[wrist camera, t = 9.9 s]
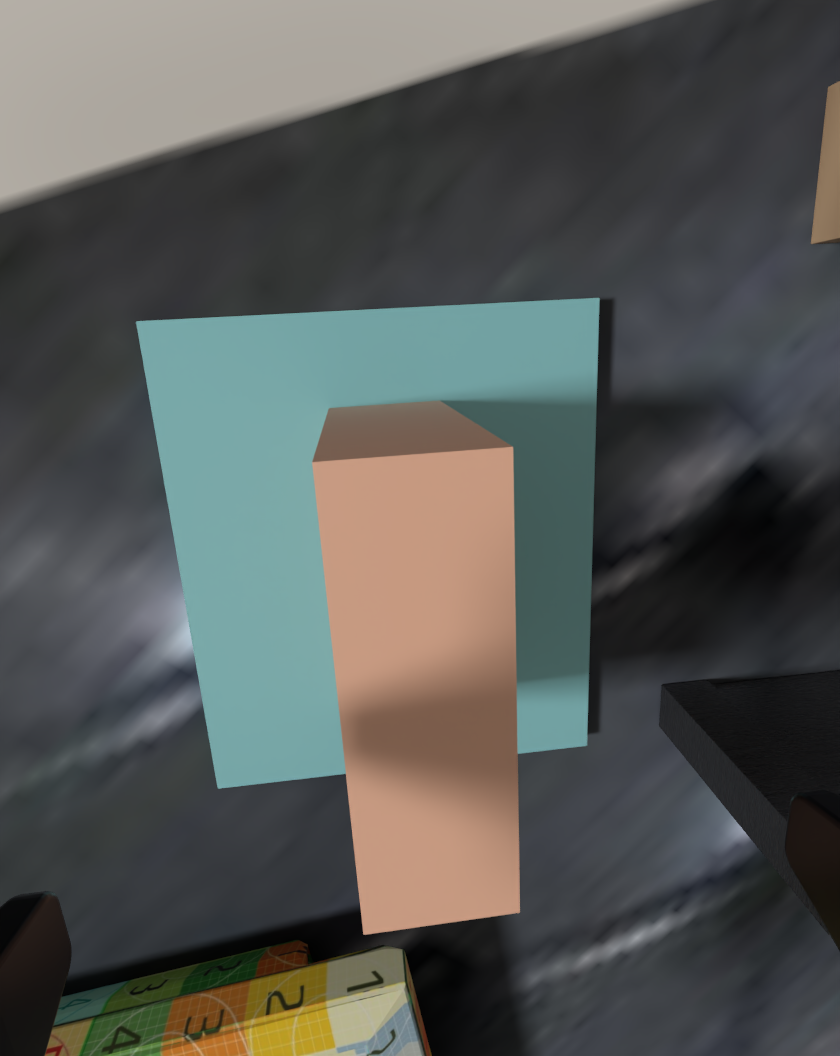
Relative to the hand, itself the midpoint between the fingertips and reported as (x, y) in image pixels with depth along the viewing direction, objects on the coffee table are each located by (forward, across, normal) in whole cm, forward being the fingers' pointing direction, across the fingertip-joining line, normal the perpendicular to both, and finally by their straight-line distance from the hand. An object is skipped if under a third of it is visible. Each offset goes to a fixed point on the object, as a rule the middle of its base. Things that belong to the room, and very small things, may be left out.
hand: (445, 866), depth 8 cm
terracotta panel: (+11, 0, 0) cm, 11 cm away
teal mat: (+12, 0, 0) cm, 12 cm away
